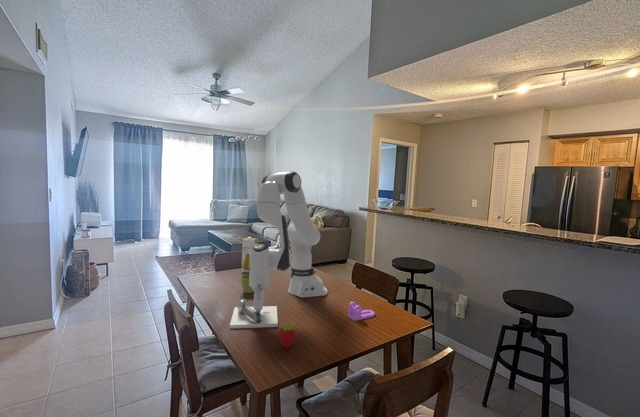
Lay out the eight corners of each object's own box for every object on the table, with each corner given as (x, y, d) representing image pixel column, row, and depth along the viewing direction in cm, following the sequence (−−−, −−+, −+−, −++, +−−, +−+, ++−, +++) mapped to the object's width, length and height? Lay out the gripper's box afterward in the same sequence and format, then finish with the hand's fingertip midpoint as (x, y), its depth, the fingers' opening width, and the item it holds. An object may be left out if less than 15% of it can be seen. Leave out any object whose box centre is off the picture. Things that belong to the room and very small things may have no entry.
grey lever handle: (236, 312, 137) (236, 300, 137) (243, 310, 140) (243, 298, 139) (255, 326, 124) (256, 313, 124) (263, 324, 127) (263, 311, 126)
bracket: (354, 321, 138) (355, 306, 138) (347, 316, 143) (348, 302, 142) (376, 316, 144) (377, 302, 144) (369, 311, 149) (370, 298, 149)
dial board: (276, 309, 147) (276, 305, 147) (277, 326, 129) (277, 323, 129) (234, 310, 143) (234, 306, 143) (229, 328, 126) (229, 324, 126)
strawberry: (288, 341, 118) (289, 317, 117) (298, 350, 112) (299, 325, 111) (275, 345, 114) (275, 320, 113) (284, 355, 108) (285, 329, 107)
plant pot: (236, 292, 165) (237, 277, 165) (246, 287, 174) (247, 273, 173) (250, 296, 162) (251, 280, 161) (260, 290, 171) (261, 275, 170)
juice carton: (240, 272, 201) (241, 237, 199) (245, 269, 209) (246, 235, 207) (253, 273, 200) (254, 238, 198) (258, 270, 207) (259, 236, 205)
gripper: (266, 289, 124) (265, 321, 125) (266, 274, 144) (266, 301, 145) (250, 290, 122) (249, 322, 124) (253, 274, 143) (252, 302, 144)
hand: (258, 311), depth 135 cm, fingers open, 7 cm apart
